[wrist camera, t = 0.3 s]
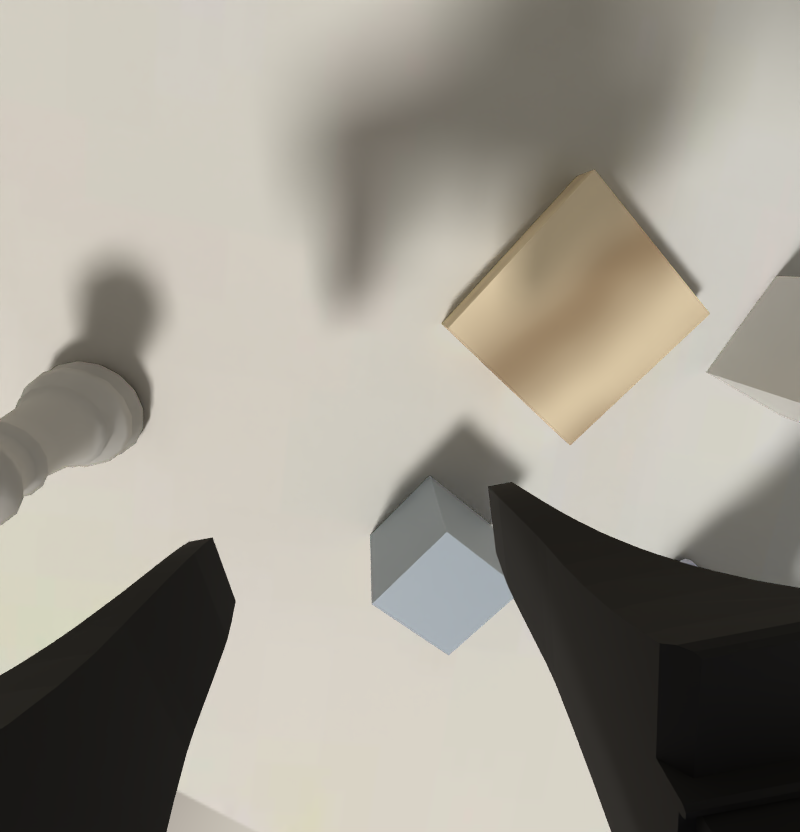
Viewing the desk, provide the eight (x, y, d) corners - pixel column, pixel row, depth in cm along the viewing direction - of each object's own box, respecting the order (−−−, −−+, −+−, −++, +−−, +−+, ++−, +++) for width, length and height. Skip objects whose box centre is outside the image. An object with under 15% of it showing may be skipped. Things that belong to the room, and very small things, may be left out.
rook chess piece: (49, 343, 19) (-160, 399, 11) (158, 378, 20) (31, 452, 12) (35, 436, 20) (-160, 542, 13) (138, 465, 21) (12, 581, 13)
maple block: (678, 308, 21) (710, 313, 19) (552, 429, 23) (570, 445, 21) (571, 178, 19) (594, 169, 17) (439, 322, 20) (447, 328, 18)
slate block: (490, 524, 24) (522, 590, 19) (432, 579, 24) (448, 655, 20) (429, 474, 22) (446, 531, 18) (370, 534, 23) (371, 604, 19)
